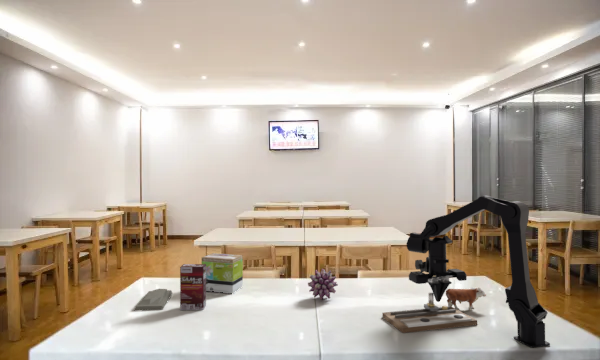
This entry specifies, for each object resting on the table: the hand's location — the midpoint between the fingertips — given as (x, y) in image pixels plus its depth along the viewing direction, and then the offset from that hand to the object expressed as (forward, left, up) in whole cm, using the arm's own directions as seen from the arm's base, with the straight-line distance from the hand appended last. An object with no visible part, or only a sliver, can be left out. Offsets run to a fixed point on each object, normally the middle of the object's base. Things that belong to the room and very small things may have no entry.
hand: (437, 301), depth 130 cm
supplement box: (+30, +82, -5) cm, 87 cm away
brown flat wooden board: (-3, +6, -5) cm, 8 cm away
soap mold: (+42, +97, -6) cm, 105 cm away
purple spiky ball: (+28, +33, -5) cm, 43 cm away
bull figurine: (+4, -13, -5) cm, 15 cm away
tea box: (+52, +71, -5) cm, 88 cm away
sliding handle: (0, +3, -2) cm, 4 cm away
